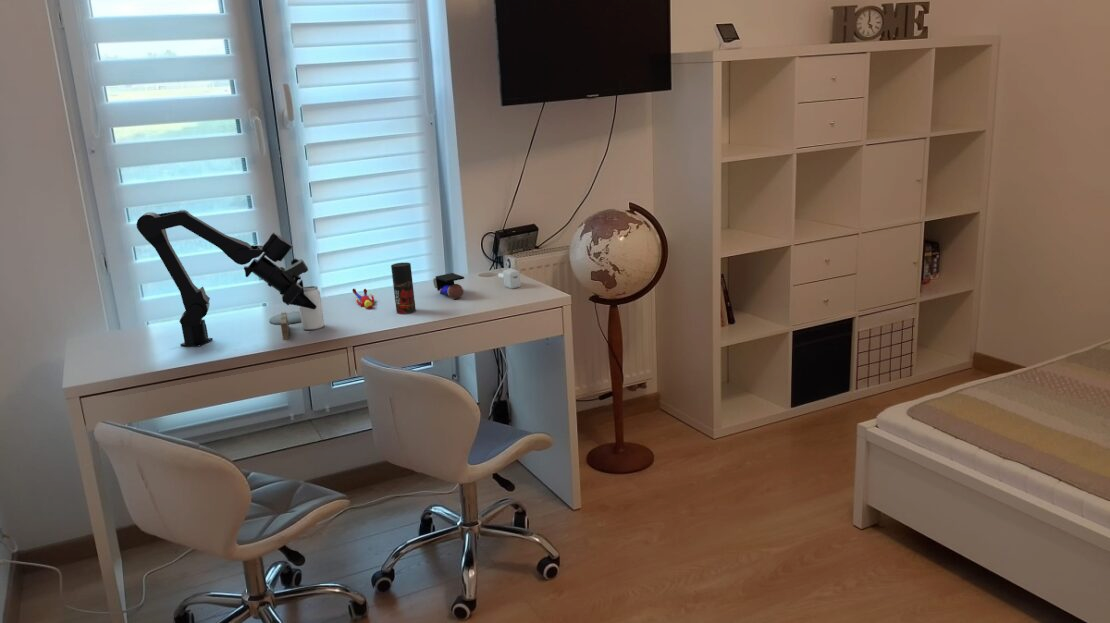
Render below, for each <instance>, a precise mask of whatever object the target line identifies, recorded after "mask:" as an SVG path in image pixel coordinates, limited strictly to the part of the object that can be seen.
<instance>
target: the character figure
mask: <svg viewBox="0 0 1110 623" xmlns="http://www.w3.org/2000/svg"><path fill="white" fill-rule="evenodd" d="M351 291H352V292H353V294H354V295H355V296H356V298H355V300H356V301H355V302H356V303H357V305H358V306H359V307H361V308H363V307H364V308H365V309H366V310H371V309H373V308H374V304H375V297H374V295H373V294H372V293H369V295H368V289H367V288H364V289H363V294H364V295H360V294H359V293H358V292H357V290H356V288H352V290H351ZM369 296H370V297H371V298H370V297H369Z"/></svg>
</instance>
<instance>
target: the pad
mask: <svg viewBox="0 0 1110 623" xmlns="http://www.w3.org/2000/svg"><path fill="white" fill-rule="evenodd" d="M286 313H287V320H288V325H292V324H299V323H301V316H300V310H297V311H290V312H286ZM268 322H269V323H270V324H272V325H278V326H279V325H280V326H281V313H279V314H276V315H274V316H271V317H270V318H269V321H268Z"/></svg>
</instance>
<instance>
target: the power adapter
mask: <svg viewBox="0 0 1110 623" xmlns="http://www.w3.org/2000/svg"><path fill="white" fill-rule="evenodd" d="M520 275H521V274H520V271H519V270H516V269H515V268H509V269H504V270H503V271H502V272H499V273H496V275H495V276H497V277H498V278H499V279H501V280H503V286H504V287H506V288H508V289H511V290H513V289H516V288H520V287H521V276H520Z"/></svg>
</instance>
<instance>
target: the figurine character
mask: <svg viewBox="0 0 1110 623" xmlns="http://www.w3.org/2000/svg"><path fill="white" fill-rule="evenodd" d="M464 279H465V276H462V275H460V274H457V273H454V272H449V273H445V274H440V275H436V276H435V278H433V280H432V282H433V286H434V288H435V289H436V290H437V291H438V292H439V294H441V295H448V297H449V298H451V299H453V300H458V299H460V298H462V297H463V295H464V288H463V287H462V286H461V285H460V284H459V283H455V282H456V281H459V280H464Z"/></svg>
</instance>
